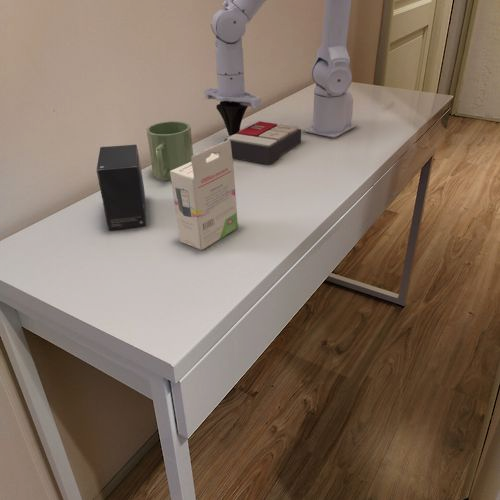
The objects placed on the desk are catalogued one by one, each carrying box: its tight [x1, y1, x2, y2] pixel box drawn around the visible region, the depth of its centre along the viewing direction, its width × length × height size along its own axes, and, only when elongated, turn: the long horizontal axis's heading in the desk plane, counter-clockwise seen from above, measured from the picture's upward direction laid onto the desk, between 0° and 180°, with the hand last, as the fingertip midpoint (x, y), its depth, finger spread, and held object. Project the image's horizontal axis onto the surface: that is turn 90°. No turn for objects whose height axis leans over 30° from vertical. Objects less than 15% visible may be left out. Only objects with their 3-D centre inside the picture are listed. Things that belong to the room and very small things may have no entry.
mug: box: [146, 120, 194, 181], centre depth 96 cm, size 11×8×9 cm
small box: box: [96, 144, 147, 231], centre depth 82 cm, size 11×6×10 cm, turn 12°
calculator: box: [223, 120, 302, 165], centre depth 108 cm, size 11×4×15 cm
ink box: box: [170, 139, 239, 251], centre depth 74 cm, size 9×5×15 cm, turn 141°
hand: (233, 135), depth 113 cm, fingers closed
